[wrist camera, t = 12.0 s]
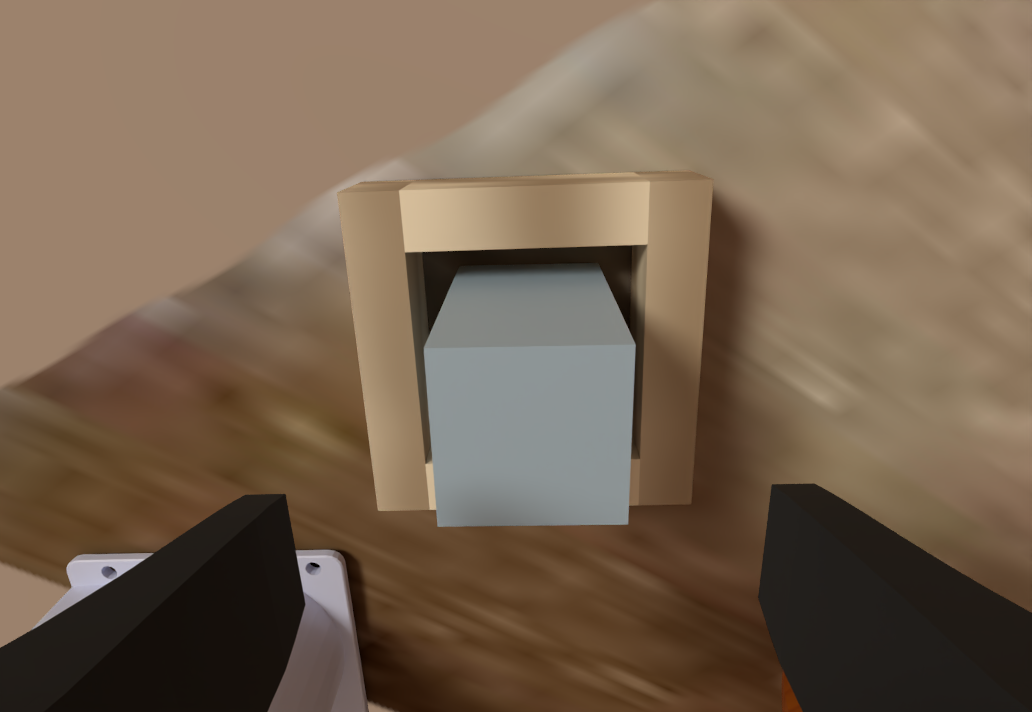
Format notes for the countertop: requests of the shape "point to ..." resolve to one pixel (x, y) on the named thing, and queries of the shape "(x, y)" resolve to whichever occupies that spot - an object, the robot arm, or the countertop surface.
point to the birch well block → (518, 225)
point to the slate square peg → (530, 398)
